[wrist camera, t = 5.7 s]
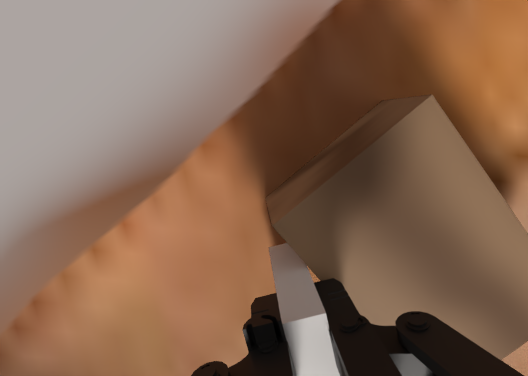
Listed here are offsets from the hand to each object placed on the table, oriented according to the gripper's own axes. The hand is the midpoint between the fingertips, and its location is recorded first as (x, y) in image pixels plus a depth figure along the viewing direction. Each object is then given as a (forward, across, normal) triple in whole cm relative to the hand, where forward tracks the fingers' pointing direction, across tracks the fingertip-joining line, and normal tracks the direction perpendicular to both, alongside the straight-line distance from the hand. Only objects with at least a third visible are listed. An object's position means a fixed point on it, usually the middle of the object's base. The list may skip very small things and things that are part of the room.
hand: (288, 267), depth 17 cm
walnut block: (+2, +6, 0) cm, 6 cm away
